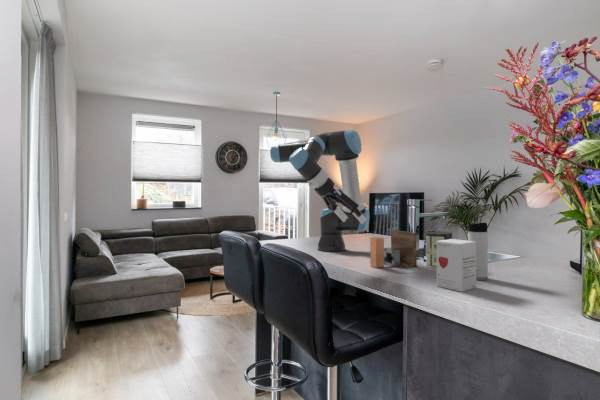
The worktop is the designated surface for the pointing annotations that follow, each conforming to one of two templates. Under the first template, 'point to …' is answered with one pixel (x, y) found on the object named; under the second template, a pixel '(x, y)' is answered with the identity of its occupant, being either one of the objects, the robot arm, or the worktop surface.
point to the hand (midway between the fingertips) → (354, 220)
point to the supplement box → (456, 264)
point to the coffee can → (434, 246)
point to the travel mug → (480, 248)
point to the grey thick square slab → (395, 257)
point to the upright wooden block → (378, 252)
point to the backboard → (405, 247)
